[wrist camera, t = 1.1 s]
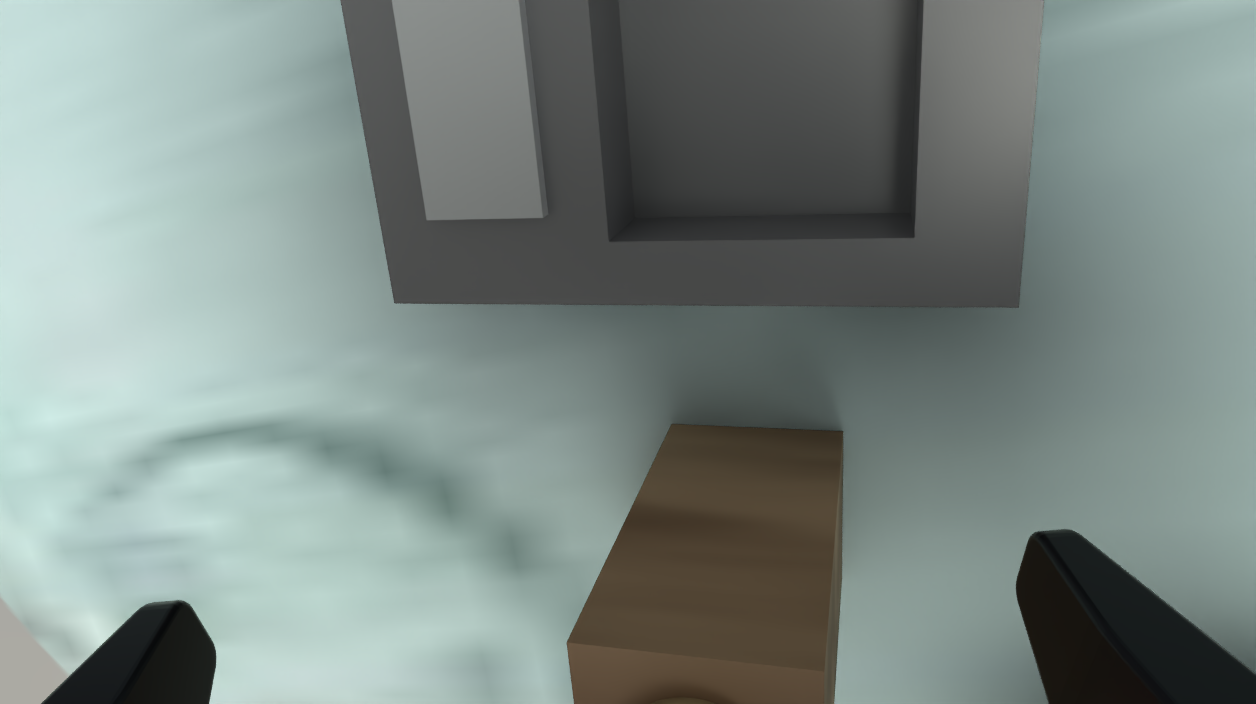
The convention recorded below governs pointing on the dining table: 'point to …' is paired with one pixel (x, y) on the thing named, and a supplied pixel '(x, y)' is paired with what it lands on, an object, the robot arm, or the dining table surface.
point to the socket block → (700, 149)
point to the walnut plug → (721, 575)
